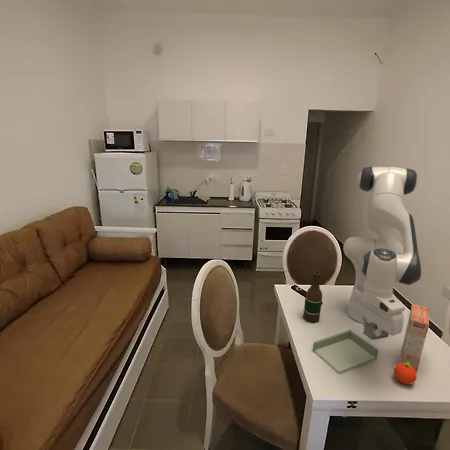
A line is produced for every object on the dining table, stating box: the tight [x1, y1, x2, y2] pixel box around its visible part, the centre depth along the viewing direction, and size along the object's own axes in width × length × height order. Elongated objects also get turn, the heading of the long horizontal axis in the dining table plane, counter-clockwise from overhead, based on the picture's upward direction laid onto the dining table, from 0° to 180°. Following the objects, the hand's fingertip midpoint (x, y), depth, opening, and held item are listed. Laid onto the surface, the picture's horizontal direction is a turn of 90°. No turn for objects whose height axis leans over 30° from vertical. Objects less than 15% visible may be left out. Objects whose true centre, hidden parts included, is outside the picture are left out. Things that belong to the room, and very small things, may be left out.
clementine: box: [393, 362, 417, 385], centre depth 110 cm, size 8×7×7 cm
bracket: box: [362, 323, 390, 341], centre depth 112 cm, size 8×4×6 cm, turn 112°
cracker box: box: [399, 303, 430, 374], centre depth 119 cm, size 14×6×21 cm, turn 148°
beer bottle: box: [303, 270, 323, 324], centre depth 144 cm, size 8×8×24 cm
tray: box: [312, 329, 379, 375], centre depth 123 cm, size 20×14×4 cm
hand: (370, 330), depth 111 cm, fingers closed on bracket, 4 cm apart
